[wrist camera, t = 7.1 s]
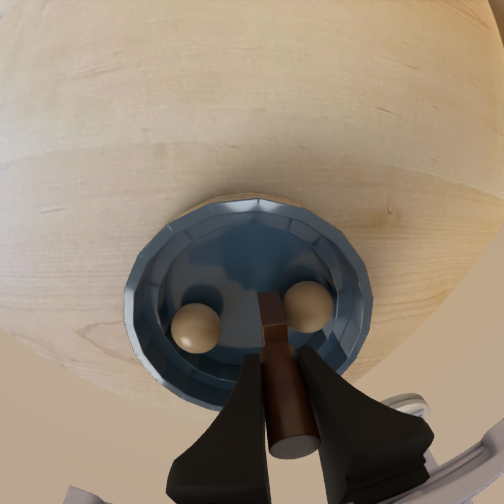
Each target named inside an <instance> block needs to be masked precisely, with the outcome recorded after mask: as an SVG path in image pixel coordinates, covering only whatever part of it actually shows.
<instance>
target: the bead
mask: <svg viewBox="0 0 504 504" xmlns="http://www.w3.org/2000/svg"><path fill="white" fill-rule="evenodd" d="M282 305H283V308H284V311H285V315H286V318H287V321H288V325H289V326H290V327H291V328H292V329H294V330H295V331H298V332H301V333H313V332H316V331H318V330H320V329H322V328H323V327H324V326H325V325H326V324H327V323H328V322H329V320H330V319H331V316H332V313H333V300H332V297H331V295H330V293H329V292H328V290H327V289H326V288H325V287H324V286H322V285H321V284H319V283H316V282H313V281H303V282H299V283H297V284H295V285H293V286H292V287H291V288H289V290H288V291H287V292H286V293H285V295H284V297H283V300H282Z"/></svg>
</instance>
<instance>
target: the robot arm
mask: <svg viewBox="0 0 504 504" xmlns="http://www.w3.org/2000/svg"><path fill="white" fill-rule="evenodd" d="M298 362H299V365H300V369H301V372H302V375H303V378H304V382H305V385H306V389H307V392H308V395H309V399H310V402H311V406H312V409H313V413H314V416H315V420H316V423H317V427H318V430H319V434H320V438H321V445H320V447H319V448H318V451H319V456H320V461H321V466H322V471H323V476H324V482H325V488H326V495H327V501H328V504H473V502H472V500H471V498H473V497H474V496H475V495H477V494H478V493H480V492H481V491H482V490H483V489H485V488H486V487H487V486H489V485H490V484H491V483H492V482H494V481H495V480H496V479H497V478H498V477H499V476H501V475H502V474H503V473H504V419H502V420H501V421H500V422H498V423H497V424H496V425H494V426H493V427H492V428H491V429H490V430H488V431H487V433H486V434H485V435H484V436H483V438H482V439H481V441H479V442H478V443H476V444H475V445H474V446H472V447H471V448H469V449H467V450H466V451H464V452H463V453H461V454H460V455H458V456H456V457H455V458H453V459H451V460H450V461H448V462H446V463H444V464H442V465H441V466H438V465H437V463H436V461H435V459H434V457H433V455H432V454H431V452H430V450H429V446H430V445H431V443H432V441H433V439H434V433H433V432H432V430H431V428H430V427H429V425H428V424H427V423H426V421H425V420H424V419H423V418H422V416H423V414H424V409H420V410H418V411H415V412H413V413H410V414H407V413H404V412H401V411H398V410H396V409H393V408H390V407H388V406H386V405H384V404H382V403H380V402H378V401H376V400H374V399H372V398H370V397H368V396H367V395H365V394H364V393H362V392H361V391H359V390H357V389H356V388H355V387H353V386H352V385H351V384H349V383H348V382H347V381H346V380H345V379H343V378H342V377H341V376H340V375H339V374H338V373H337V372H335V371H334V370H333V369H332V368H331V367H330V366H329V365H328V364H327V363H326V362H325V361H324V360H323V359H322V358H321V356H320V355H319V354H318V353H317V352H316V351H315V350H314V348H312V347H311V346H310V347H304V348H298ZM166 494H167V495H168V496H169V497H170V498H171V499H172V500H173V501H174V502H175V503H176V504H271V495H270V486H269V478H268V468H267V459H266V450H265V412H264V403H263V392H262V372H261V363H260V354H259V353H258V354H249V355H245V356H244V358H243V363H242V367H241V370H240V373H239V376H238V379H237V381H236V383H235V386H234V388H233V390H232V392H231V394H230V396H229V398H228V400H227V402H226V403H225V405H224V407H223V408H222V410H221V411H220V413H219V415H218V416H217V417H216V419H215V420H214V421H213V423H212V424H211V425H210V427H209V428H208V429H207V430H206V431H205V433H204V434H203V435H202V436H201V437H200V438H199V439H198V440H197V441H196V442H195V443H194V444H193V445H192V446H191V447H190V448H188V449H187V450H186V451H185V452H184V453H183V454H181V455H180V456H179V457H178V458H176V459H175V460H174V462H173V464H172V466H171V469H170V472H169V475H168V480H167V486H166ZM63 504H111V503H107V502H104V501H103V500H102V499H101V498H99V497H98V496H96V495H95V494H92V493H90V492H87V491H84V490H82V489H79V488H76V487H73V486H69V489H68V492H67V495H66V497H65V501H64V503H63Z"/></svg>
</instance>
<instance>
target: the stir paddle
mask: <svg viewBox="0 0 504 504" xmlns="http://www.w3.org/2000/svg"><path fill="white" fill-rule="evenodd" d="M257 297H258V307H259V316H260V326H261V336H262V345H263V348H262V349H261V350H260V352H259V354H260V363H261V372H262V392H263V403H264V412H265V421H266V430H267V440H268V449H269V453H270V454H271V455H272V456H273V457H276V458H279V459H296V458H301V457H304V456H307V455H309V454H311V453H313V452H315V451H316V450H317V449H318V448H319V447H320V445H321V438H320V434H319V430H318V427H317V423H316V420H315V416H314V413H313V409H312V406H311V402H310V399H309V395H308V392H307V389H306V385H305V382H304V378H303V375H302V372H301V369H300V365H299V362H298V358H297V354H296V351H295V348H294V347H293V346H292V345H291V344H290V343H289V332H288V321H287V318H286V315H285V311H284V308H283V305H282V302H281V298H280V295H279V292H278V291H272V292H263V293H257Z"/></svg>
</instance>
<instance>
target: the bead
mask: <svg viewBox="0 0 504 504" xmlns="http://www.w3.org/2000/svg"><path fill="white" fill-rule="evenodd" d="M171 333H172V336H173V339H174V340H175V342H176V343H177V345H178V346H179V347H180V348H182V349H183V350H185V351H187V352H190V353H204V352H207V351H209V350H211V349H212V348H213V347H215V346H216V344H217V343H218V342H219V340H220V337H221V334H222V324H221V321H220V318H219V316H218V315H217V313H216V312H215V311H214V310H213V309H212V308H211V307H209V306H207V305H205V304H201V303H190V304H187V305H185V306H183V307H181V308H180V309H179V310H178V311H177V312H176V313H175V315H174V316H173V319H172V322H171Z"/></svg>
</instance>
